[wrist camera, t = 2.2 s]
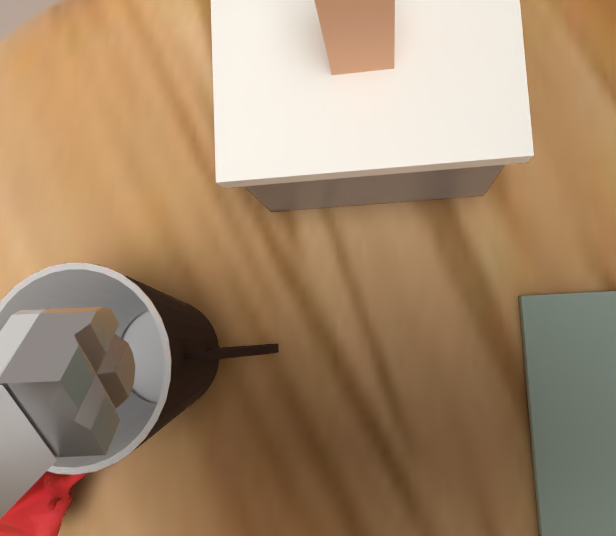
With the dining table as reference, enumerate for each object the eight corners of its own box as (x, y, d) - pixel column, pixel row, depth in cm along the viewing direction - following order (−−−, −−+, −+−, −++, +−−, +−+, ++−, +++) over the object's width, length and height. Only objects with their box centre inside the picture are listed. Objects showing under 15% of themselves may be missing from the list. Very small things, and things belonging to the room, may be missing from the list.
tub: (261, -45, 35) (222, -153, 27) (461, -73, 33) (483, -197, 25) (271, 211, 33) (233, 176, 25) (483, 195, 31) (514, 151, 24)
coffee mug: (76, 396, 34) (-54, 425, 24) (129, 260, 34) (22, 234, 24) (254, 475, 32) (191, 542, 22) (308, 330, 32) (271, 331, 22)
